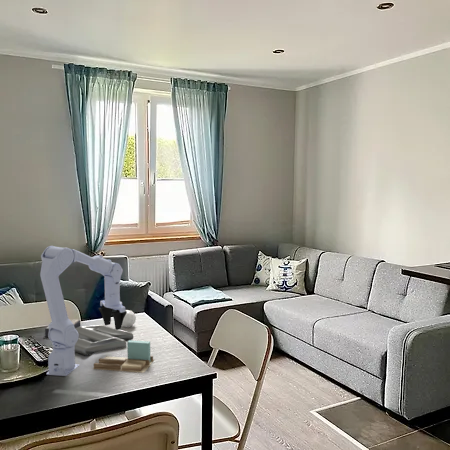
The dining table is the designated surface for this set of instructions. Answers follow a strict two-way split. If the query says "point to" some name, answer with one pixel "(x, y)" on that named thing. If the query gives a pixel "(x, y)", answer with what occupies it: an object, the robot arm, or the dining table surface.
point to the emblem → (100, 339)
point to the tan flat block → (133, 368)
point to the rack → (118, 364)
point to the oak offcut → (133, 364)
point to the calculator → (75, 322)
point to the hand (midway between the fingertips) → (112, 326)
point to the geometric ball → (129, 319)
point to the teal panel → (138, 350)
